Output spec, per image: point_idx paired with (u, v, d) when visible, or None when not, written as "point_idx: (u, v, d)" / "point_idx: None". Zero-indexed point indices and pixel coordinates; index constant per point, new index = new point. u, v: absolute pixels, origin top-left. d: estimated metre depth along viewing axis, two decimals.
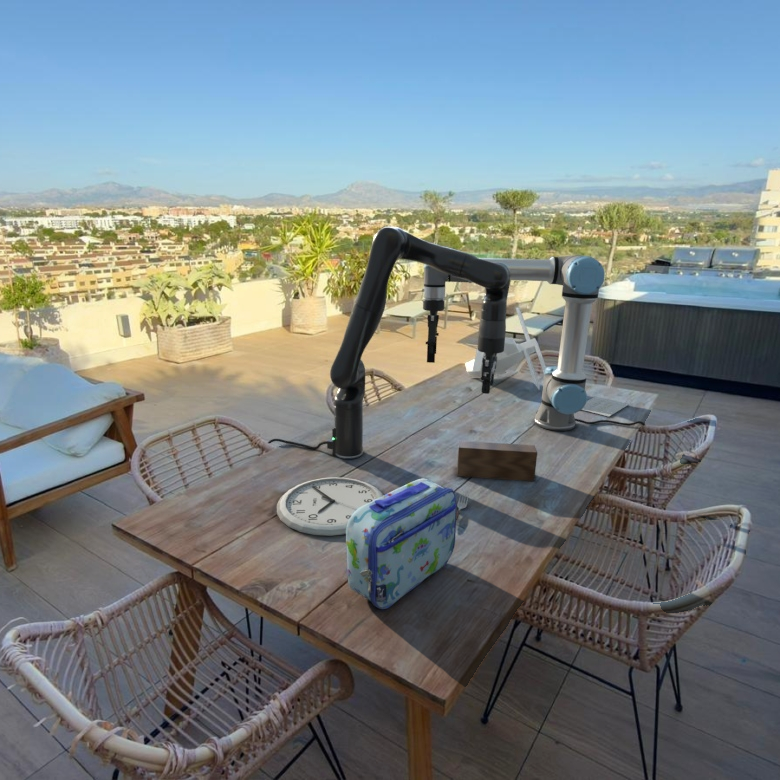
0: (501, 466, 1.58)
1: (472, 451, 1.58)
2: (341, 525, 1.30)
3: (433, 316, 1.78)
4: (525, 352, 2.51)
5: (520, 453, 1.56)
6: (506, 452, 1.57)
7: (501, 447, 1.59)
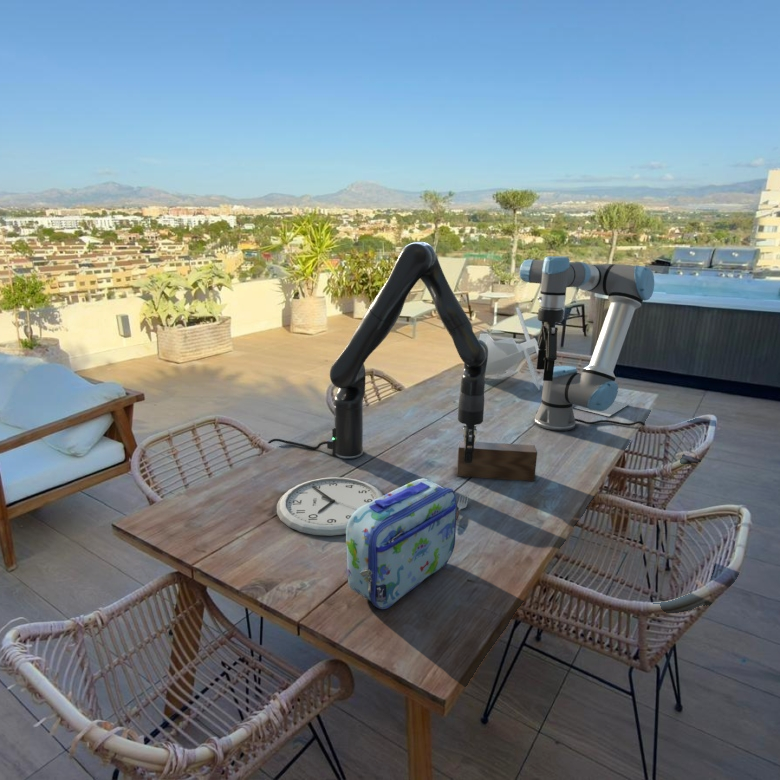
0: (501, 466, 1.58)
1: None
2: (341, 525, 1.30)
3: (554, 328, 1.56)
4: (525, 352, 2.51)
5: (520, 453, 1.56)
6: (506, 452, 1.57)
7: (501, 447, 1.59)
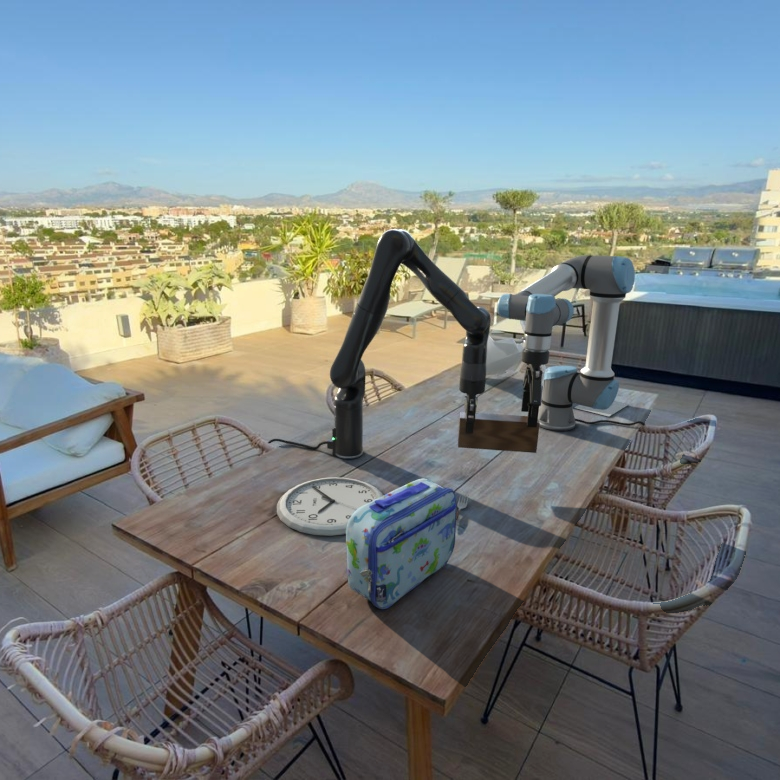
0: (503, 438, 1.56)
1: None
2: (341, 525, 1.30)
3: (538, 372, 1.45)
4: None
5: (522, 423, 1.54)
6: (508, 422, 1.54)
7: (503, 418, 1.56)
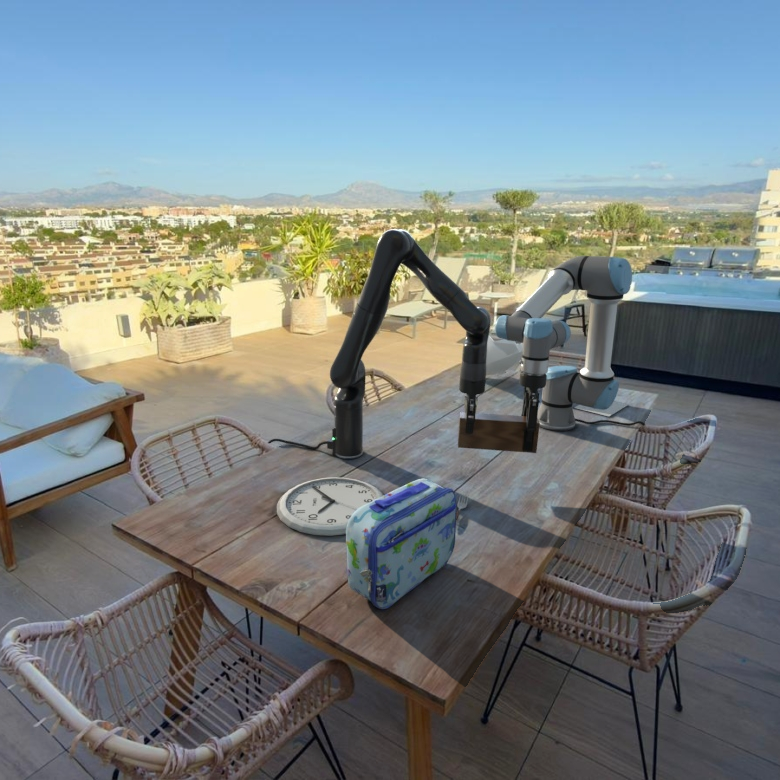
0: (503, 438, 1.56)
1: None
2: (341, 525, 1.30)
3: (535, 401, 1.47)
4: None
5: (522, 424, 1.54)
6: (508, 422, 1.54)
7: (503, 418, 1.56)
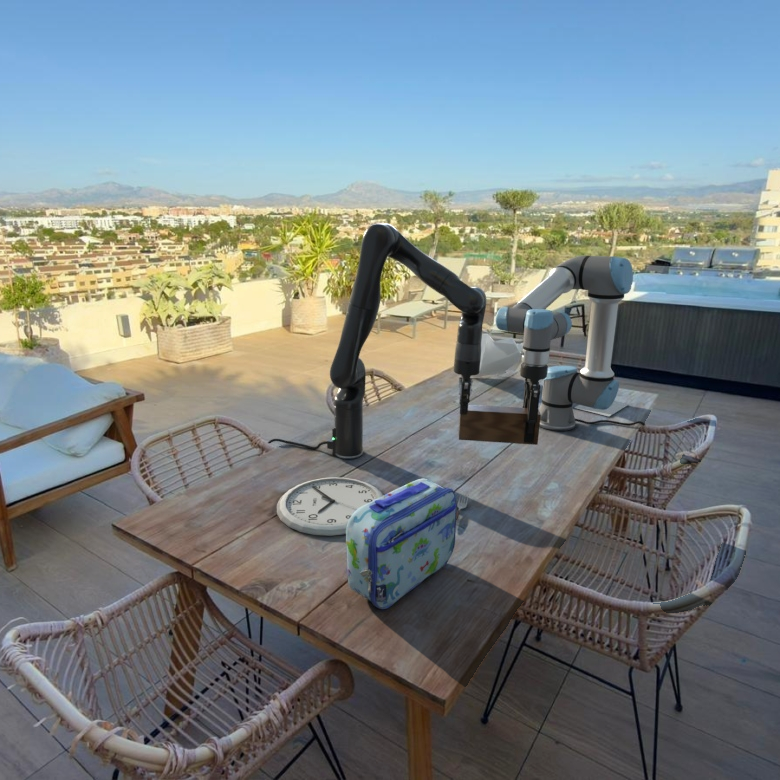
0: (504, 430, 1.55)
1: (474, 413, 1.54)
2: (341, 525, 1.30)
3: (536, 392, 1.46)
4: None
5: (523, 415, 1.53)
6: (509, 414, 1.53)
7: (503, 410, 1.55)
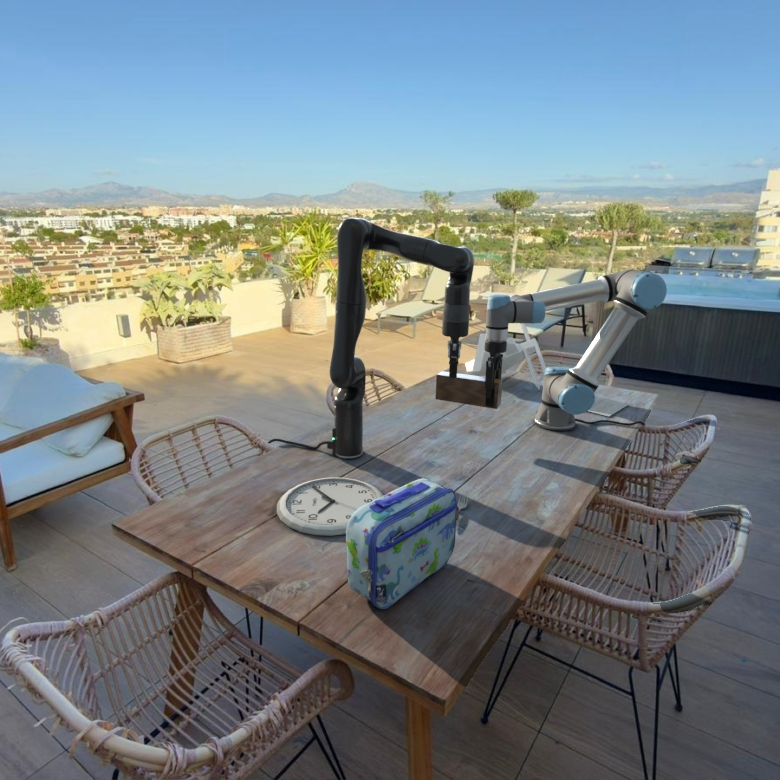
0: (470, 394, 1.87)
1: (446, 378, 1.90)
2: (341, 525, 1.30)
3: (490, 363, 1.77)
4: (525, 352, 2.51)
5: (484, 383, 1.84)
6: (473, 381, 1.86)
7: (472, 377, 1.88)
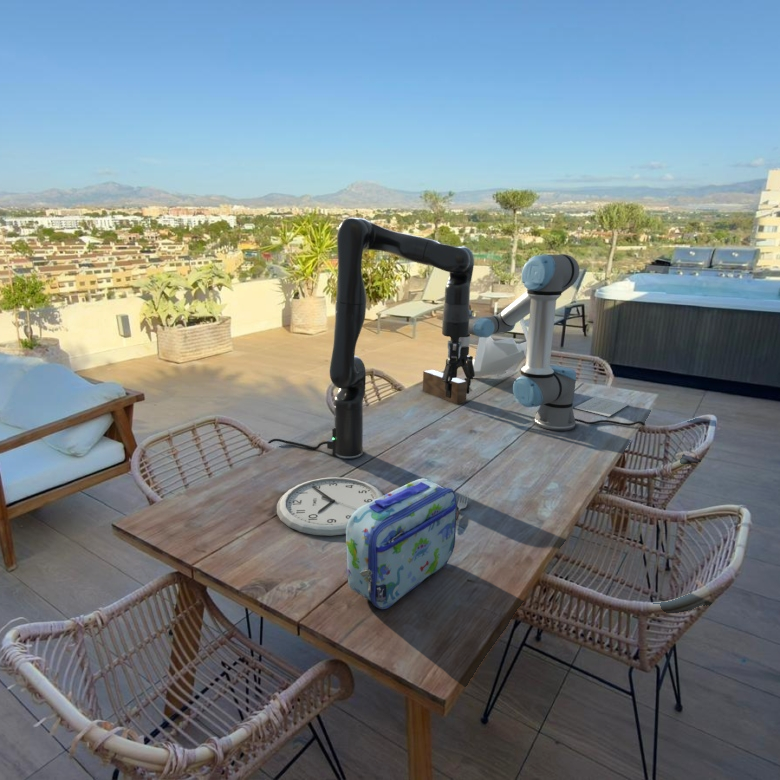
0: (441, 389, 2.33)
1: (428, 374, 2.38)
2: (341, 525, 1.30)
3: (448, 360, 2.20)
4: (525, 352, 2.51)
5: None
6: None
7: None
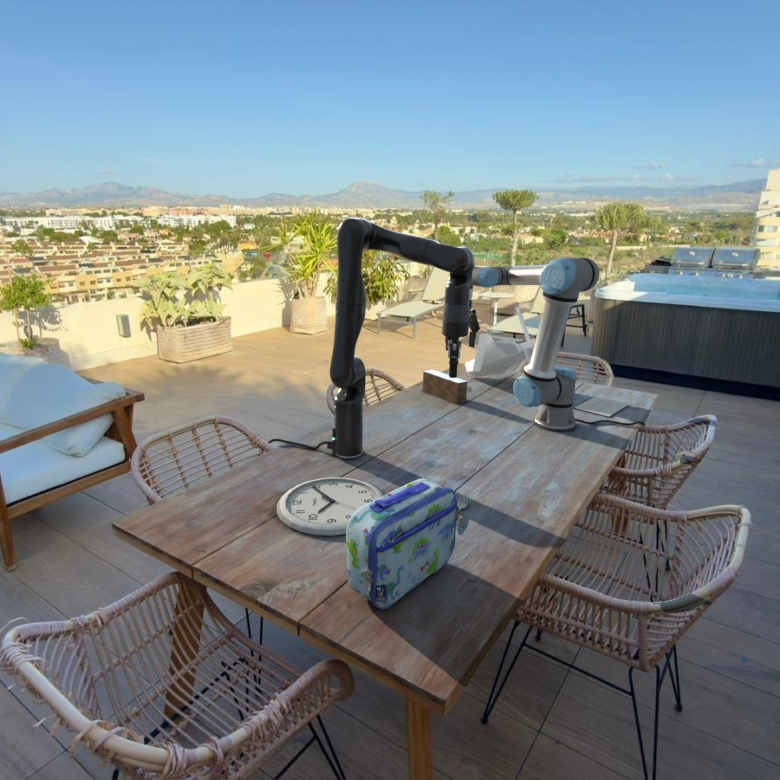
0: (441, 389, 2.33)
1: (428, 374, 2.38)
2: (341, 525, 1.30)
3: None
4: (525, 352, 2.51)
5: (450, 381, 2.27)
6: (443, 379, 2.31)
7: (445, 376, 2.33)
